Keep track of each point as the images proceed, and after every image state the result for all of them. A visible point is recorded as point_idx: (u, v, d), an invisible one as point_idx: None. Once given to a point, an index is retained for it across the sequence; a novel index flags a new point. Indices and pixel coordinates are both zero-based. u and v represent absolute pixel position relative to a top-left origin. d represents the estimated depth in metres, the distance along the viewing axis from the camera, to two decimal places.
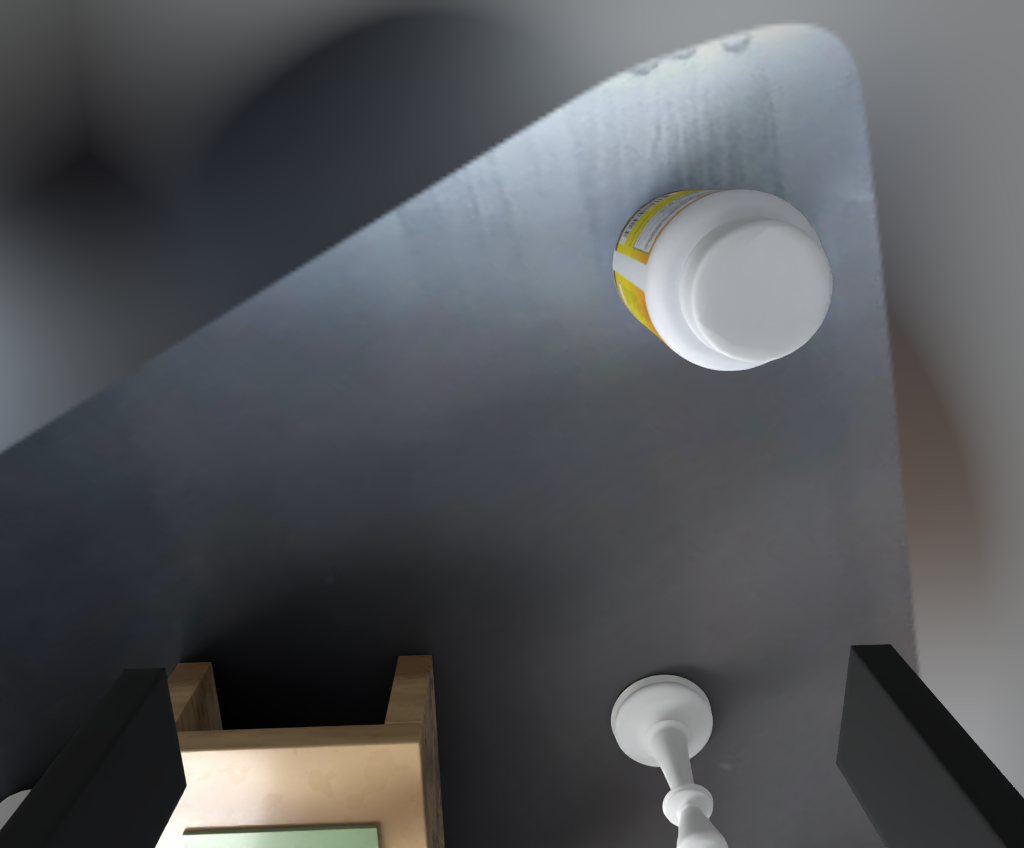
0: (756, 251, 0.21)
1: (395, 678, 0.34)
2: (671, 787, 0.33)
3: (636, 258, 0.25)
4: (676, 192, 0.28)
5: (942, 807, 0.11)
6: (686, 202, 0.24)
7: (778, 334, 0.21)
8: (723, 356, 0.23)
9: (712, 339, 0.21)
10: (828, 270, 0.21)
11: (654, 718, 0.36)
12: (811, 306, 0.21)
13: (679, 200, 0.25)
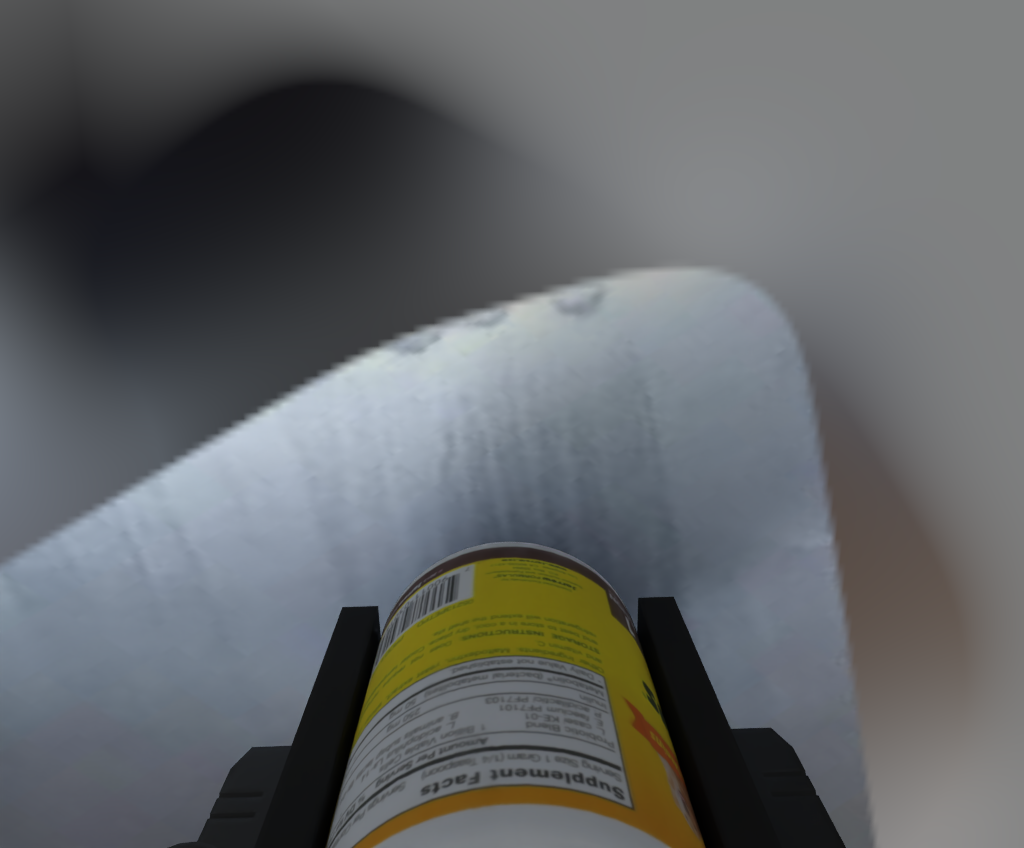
0: None
1: None
2: None
3: (331, 827, 0.11)
4: (476, 575, 0.14)
5: (670, 726, 0.13)
6: (406, 780, 0.10)
7: None
8: None
9: None
10: None
11: None
12: None
13: (424, 706, 0.11)
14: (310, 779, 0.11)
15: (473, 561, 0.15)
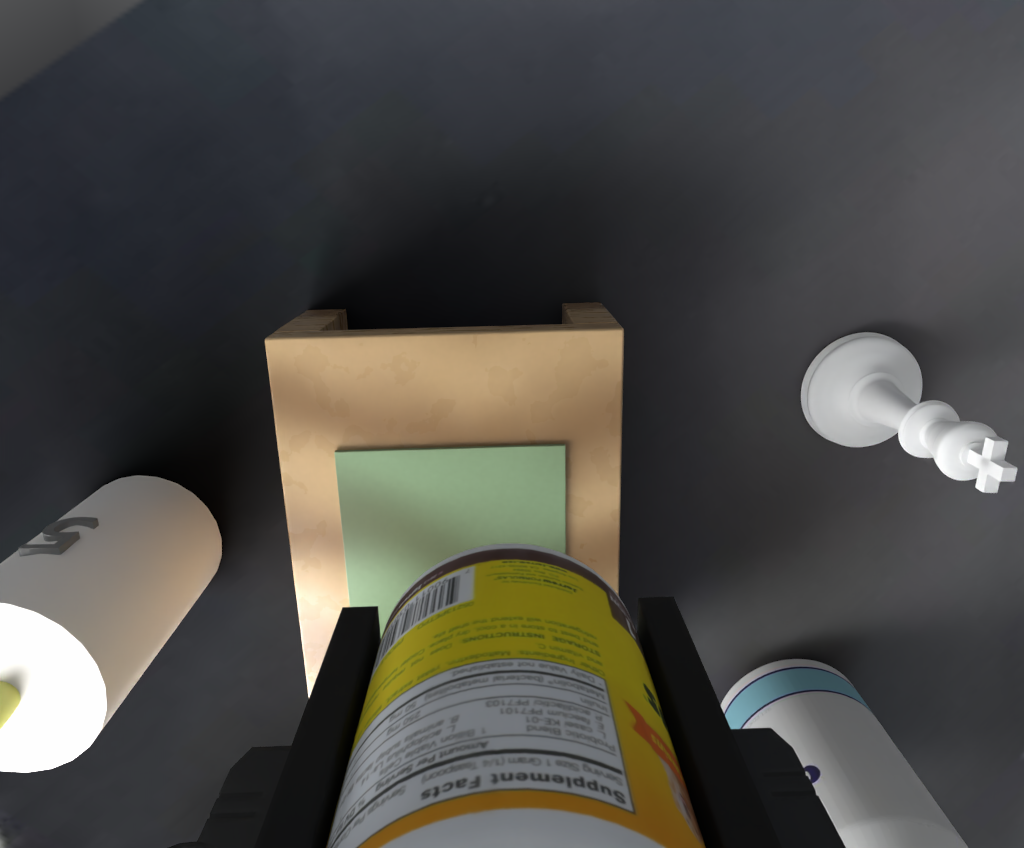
0: None
1: (568, 309, 0.29)
2: None
3: (331, 831, 0.11)
4: (476, 577, 0.14)
5: (670, 726, 0.13)
6: (406, 783, 0.10)
7: None
8: None
9: None
10: None
11: (860, 375, 0.31)
12: None
13: (424, 709, 0.11)
14: (310, 779, 0.11)
15: (473, 563, 0.15)
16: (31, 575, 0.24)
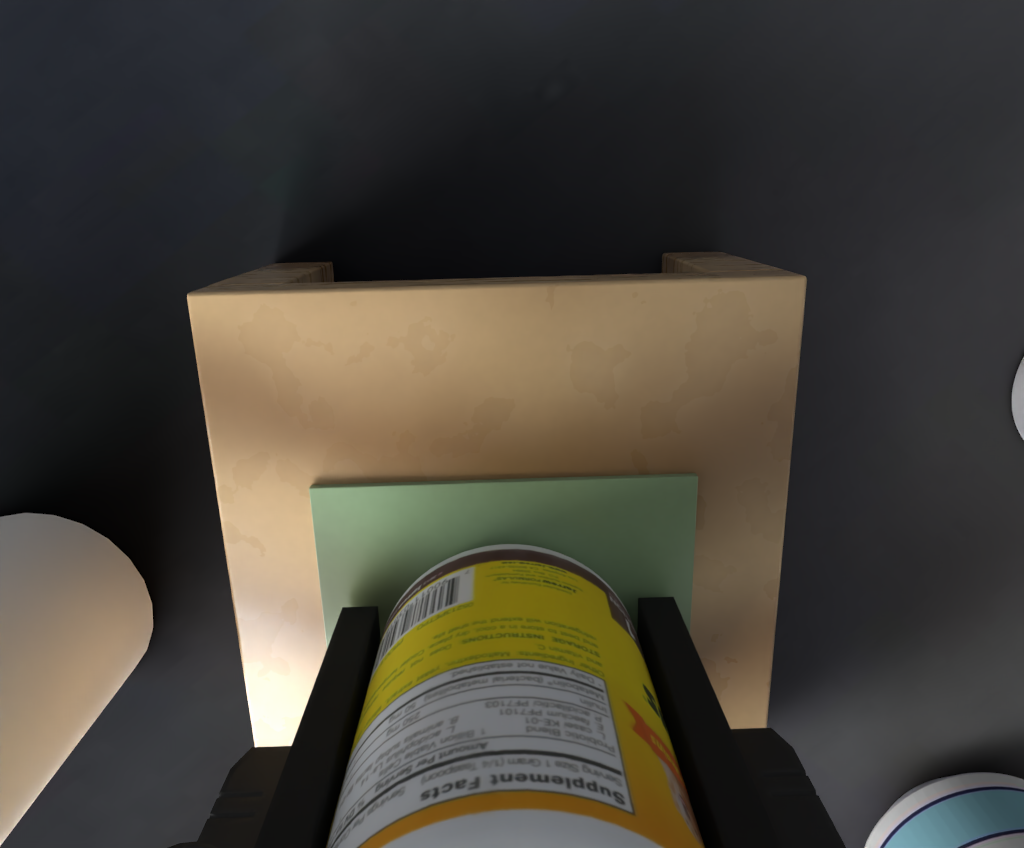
0: None
1: (680, 258, 0.19)
2: None
3: (330, 832, 0.11)
4: (476, 578, 0.14)
5: (670, 726, 0.13)
6: (406, 784, 0.10)
7: None
8: None
9: None
10: None
11: None
12: None
13: (423, 710, 0.11)
14: (310, 779, 0.11)
15: (473, 564, 0.15)
16: None
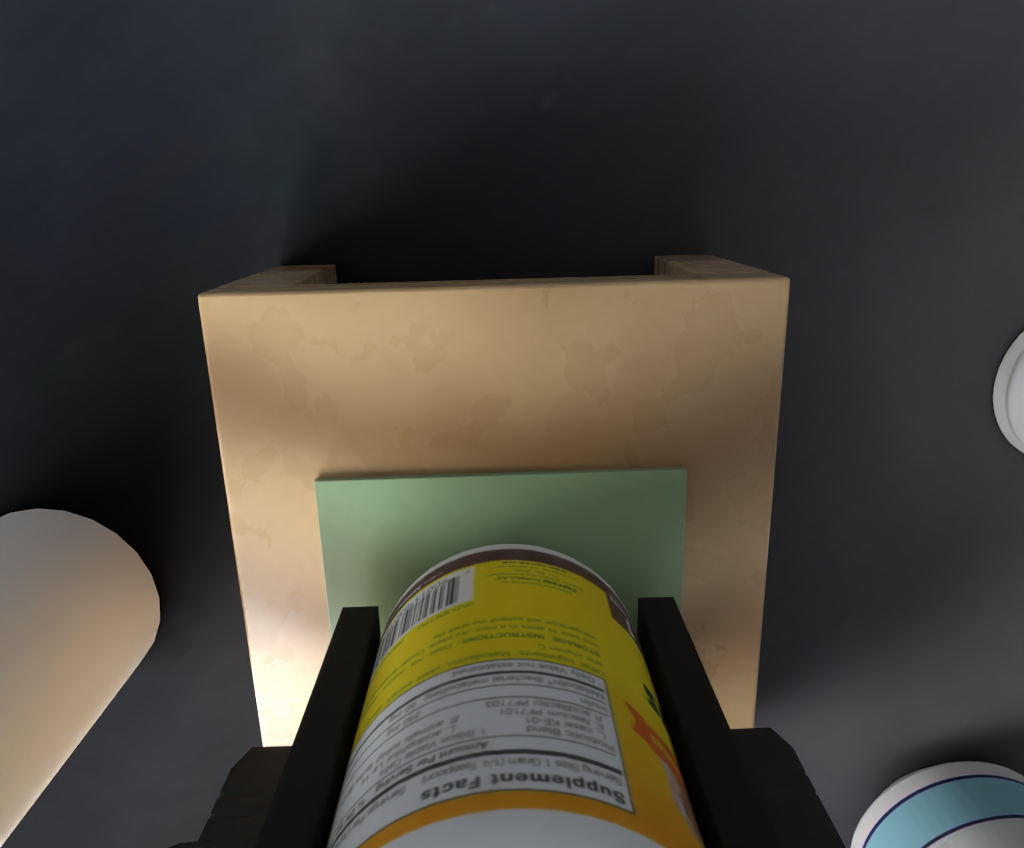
0: None
1: (671, 261, 0.19)
2: None
3: (331, 831, 0.11)
4: (476, 578, 0.14)
5: (670, 726, 0.13)
6: (406, 784, 0.10)
7: None
8: None
9: None
10: None
11: None
12: None
13: (424, 710, 0.11)
14: (311, 779, 0.11)
15: (473, 563, 0.15)
16: None
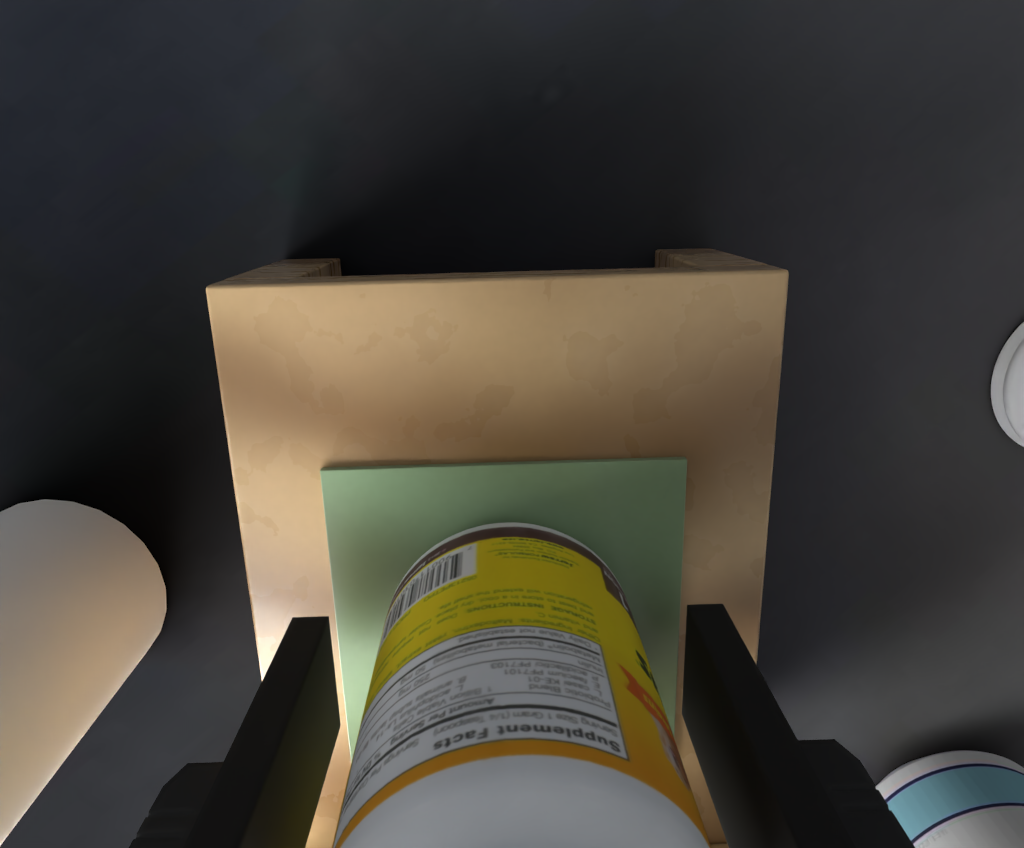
0: None
1: (672, 254, 0.20)
2: None
3: (347, 785, 0.12)
4: (478, 553, 0.15)
5: (731, 738, 0.13)
6: (419, 736, 0.10)
7: None
8: None
9: None
10: None
11: None
12: None
13: (433, 672, 0.12)
14: (238, 798, 0.11)
15: (475, 540, 0.16)
16: None
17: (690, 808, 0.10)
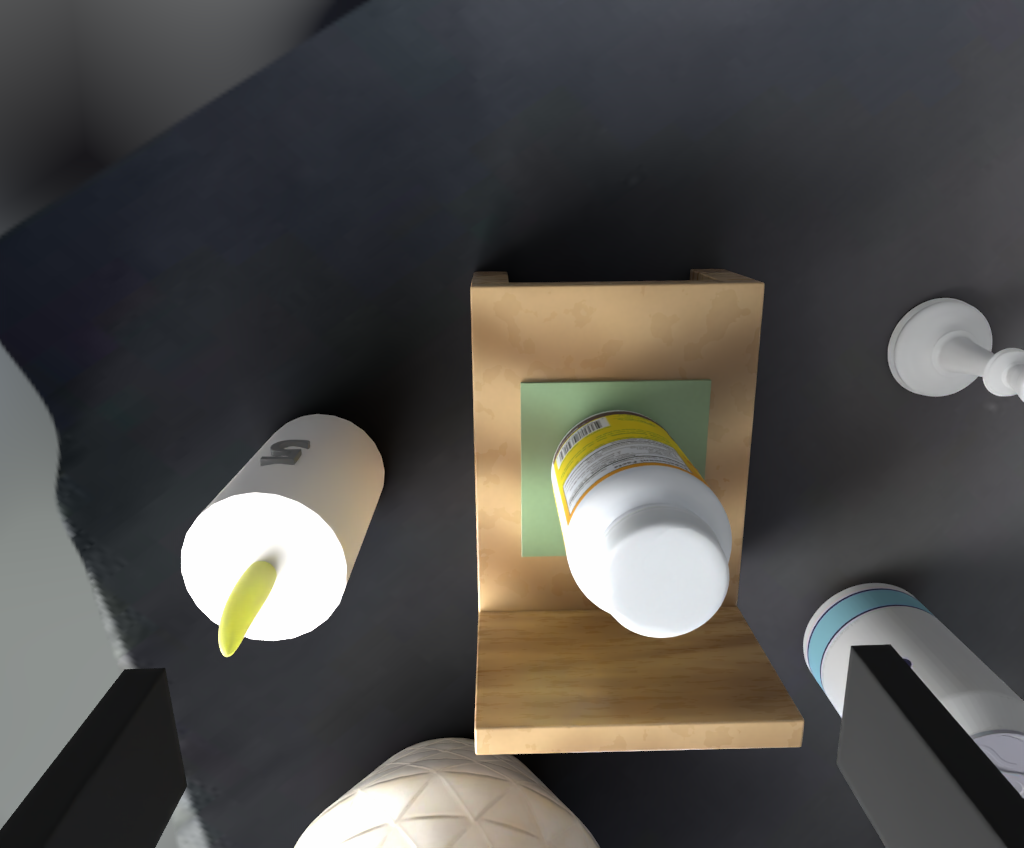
0: (658, 548, 0.23)
1: (701, 272, 0.35)
2: (983, 366, 0.33)
3: (563, 504, 0.27)
4: (608, 419, 0.30)
5: (942, 807, 0.11)
6: (606, 467, 0.26)
7: (680, 616, 0.23)
8: None
9: (620, 619, 0.23)
10: (724, 564, 0.23)
11: (942, 333, 0.36)
12: (710, 593, 0.23)
13: (603, 453, 0.27)
14: None
15: (604, 416, 0.31)
16: (281, 477, 0.30)
17: None
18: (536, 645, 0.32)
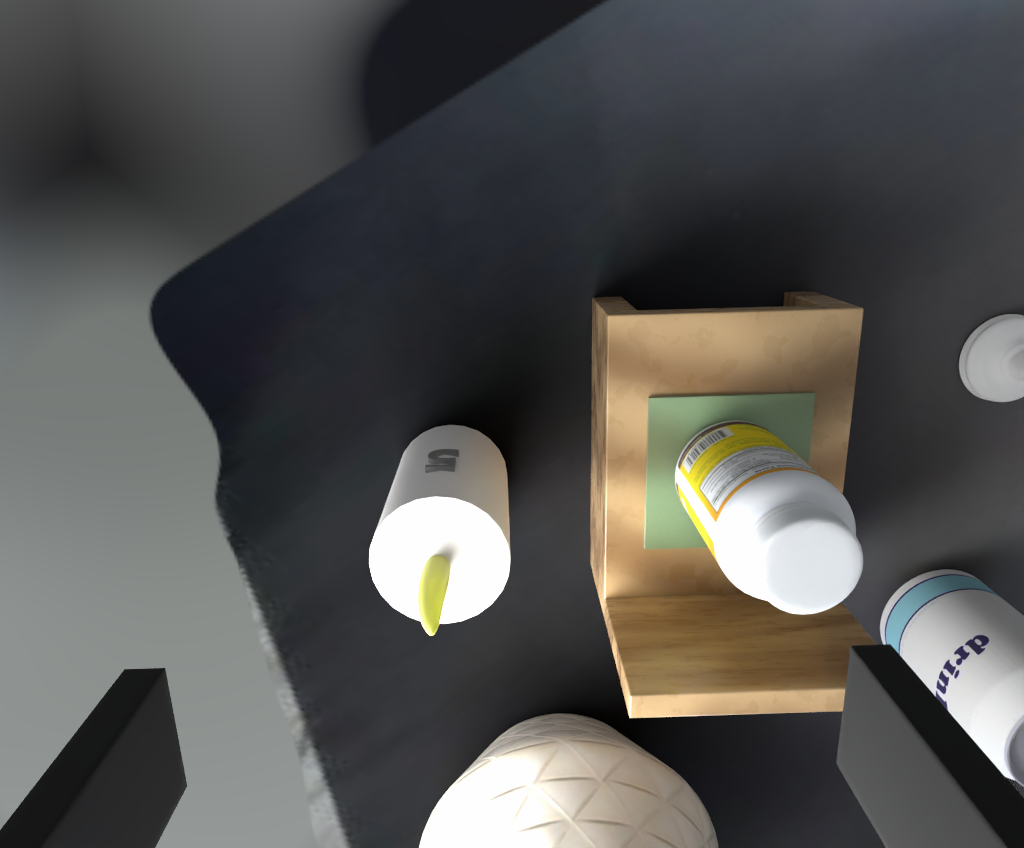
0: (805, 539, 0.27)
1: (798, 296, 0.39)
2: None
3: (703, 503, 0.32)
4: (730, 429, 0.35)
5: (942, 807, 0.11)
6: (746, 472, 0.30)
7: (821, 595, 0.28)
8: None
9: (771, 599, 0.28)
10: (860, 552, 0.27)
11: (1010, 346, 0.41)
12: (846, 576, 0.28)
13: (738, 459, 0.32)
14: None
15: (724, 425, 0.35)
16: (449, 483, 0.34)
17: None
18: (663, 626, 0.37)
